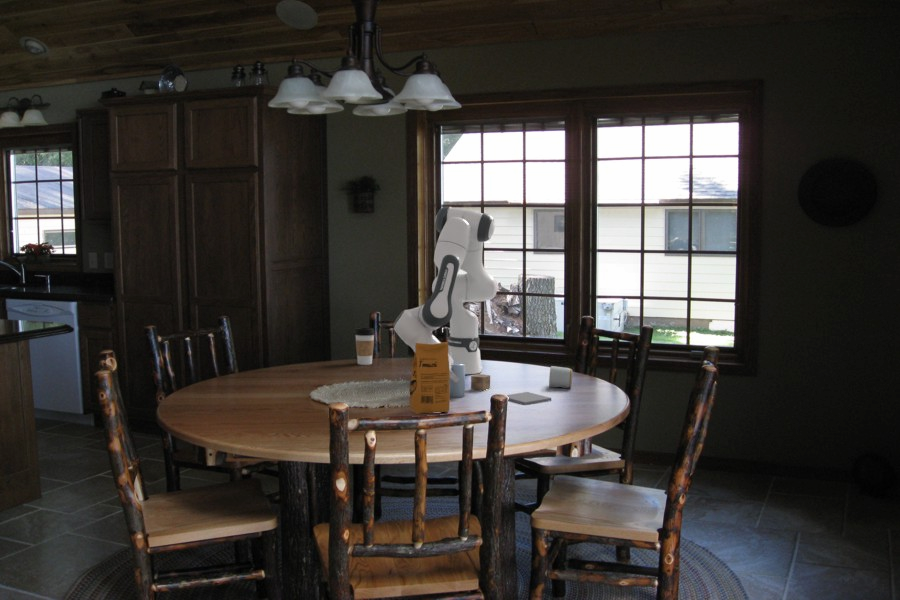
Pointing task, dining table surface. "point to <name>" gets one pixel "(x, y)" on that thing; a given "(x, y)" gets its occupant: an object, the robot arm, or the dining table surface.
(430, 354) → the coffee package
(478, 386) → the walnut block
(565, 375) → the grey rounded block
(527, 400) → the pad
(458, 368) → the blue-grey tall cylinder
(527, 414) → the dining table surface
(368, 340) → the coffee cup
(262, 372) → the dining table surface
